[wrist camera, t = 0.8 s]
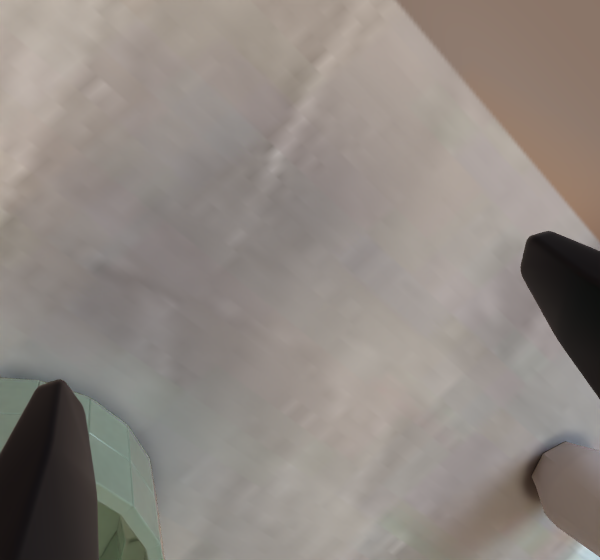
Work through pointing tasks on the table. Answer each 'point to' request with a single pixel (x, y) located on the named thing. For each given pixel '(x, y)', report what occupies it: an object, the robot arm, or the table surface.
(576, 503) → the salt shaker
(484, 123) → the table surface
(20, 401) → the bowl
